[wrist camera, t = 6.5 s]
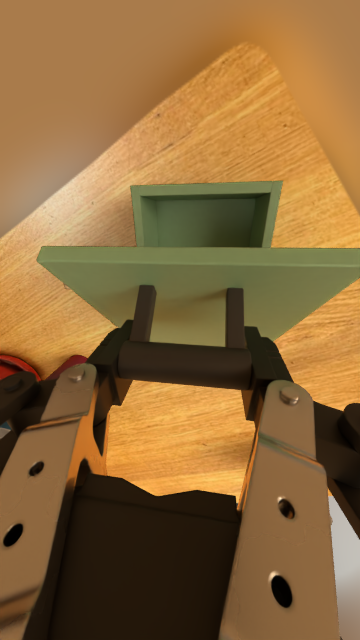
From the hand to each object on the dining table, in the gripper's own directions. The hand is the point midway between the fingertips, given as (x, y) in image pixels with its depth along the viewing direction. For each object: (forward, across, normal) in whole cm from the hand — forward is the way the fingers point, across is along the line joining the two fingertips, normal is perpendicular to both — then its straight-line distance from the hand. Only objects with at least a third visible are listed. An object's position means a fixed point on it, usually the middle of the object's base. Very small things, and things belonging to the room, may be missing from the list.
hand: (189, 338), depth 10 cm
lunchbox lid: (+5, 0, +2) cm, 5 cm away
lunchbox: (+18, 0, +1) cm, 18 cm away
